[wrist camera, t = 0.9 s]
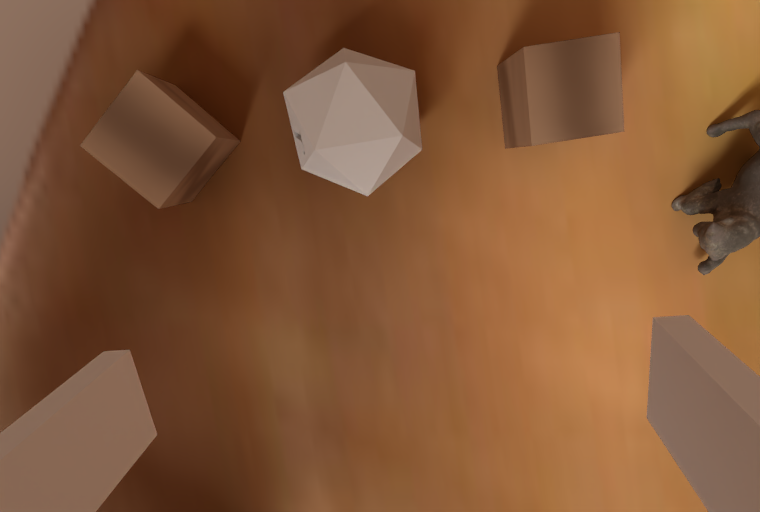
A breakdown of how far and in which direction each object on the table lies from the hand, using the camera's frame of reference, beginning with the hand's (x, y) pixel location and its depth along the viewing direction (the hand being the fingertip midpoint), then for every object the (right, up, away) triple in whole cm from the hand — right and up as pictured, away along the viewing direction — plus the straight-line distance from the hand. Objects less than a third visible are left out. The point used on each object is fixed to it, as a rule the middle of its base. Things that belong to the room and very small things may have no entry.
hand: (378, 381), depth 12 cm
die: (-2, +13, +24) cm, 27 cm away
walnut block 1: (-15, +12, +24) cm, 30 cm away
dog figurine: (+26, +8, +26) cm, 37 cm away
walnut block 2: (+12, +15, +24) cm, 30 cm away
